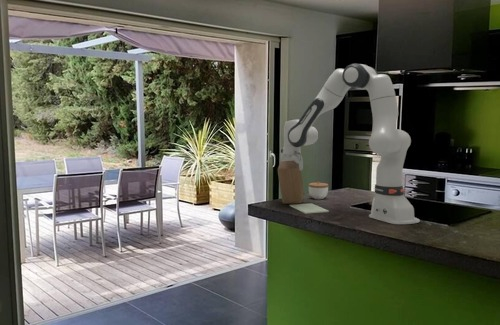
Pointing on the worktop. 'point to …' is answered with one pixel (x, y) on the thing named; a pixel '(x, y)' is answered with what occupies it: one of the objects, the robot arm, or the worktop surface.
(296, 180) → the wooden block
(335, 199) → the worktop surface
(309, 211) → the mat
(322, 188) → the lidded jar
